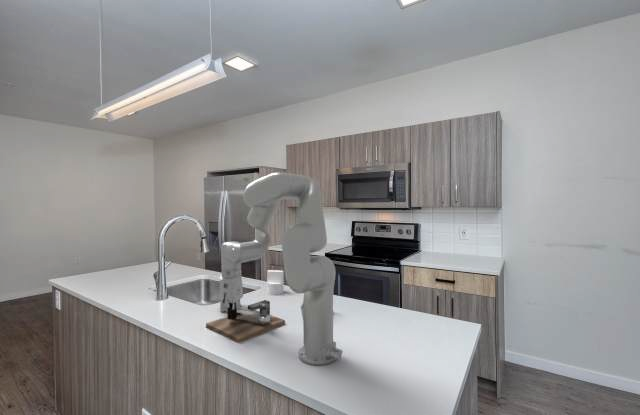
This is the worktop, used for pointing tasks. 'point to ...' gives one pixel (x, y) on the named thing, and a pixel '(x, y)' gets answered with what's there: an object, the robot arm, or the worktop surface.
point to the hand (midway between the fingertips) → (232, 318)
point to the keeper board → (244, 325)
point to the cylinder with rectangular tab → (275, 282)
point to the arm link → (255, 315)
